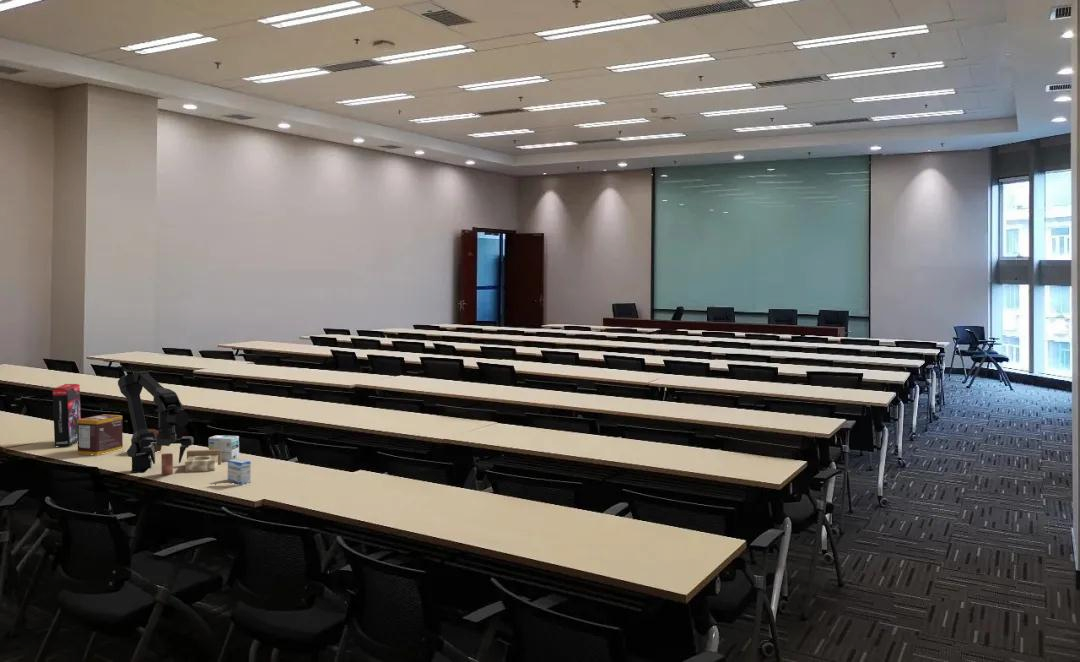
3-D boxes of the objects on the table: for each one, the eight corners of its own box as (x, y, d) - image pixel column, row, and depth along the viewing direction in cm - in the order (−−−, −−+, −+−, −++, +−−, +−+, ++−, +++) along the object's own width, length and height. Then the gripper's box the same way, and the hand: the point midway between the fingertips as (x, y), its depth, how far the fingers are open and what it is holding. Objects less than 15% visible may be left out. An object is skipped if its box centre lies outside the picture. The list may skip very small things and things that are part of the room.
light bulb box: (239, 460, 346) (239, 435, 345) (232, 463, 339) (232, 438, 339) (216, 459, 347) (215, 434, 346) (208, 462, 340) (207, 437, 340)
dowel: (160, 478, 312) (160, 455, 311) (162, 475, 316) (162, 453, 315) (171, 477, 313) (171, 455, 312) (173, 475, 317) (173, 453, 316)
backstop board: (179, 478, 312) (179, 460, 311) (187, 467, 331) (187, 450, 331) (214, 477, 315) (214, 459, 315) (221, 466, 334) (221, 449, 334)
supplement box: (123, 449, 364) (123, 415, 363) (96, 456, 349) (96, 420, 348) (104, 447, 366) (103, 413, 366) (77, 454, 352) (76, 419, 351)
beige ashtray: (185, 471, 319) (184, 461, 318) (189, 465, 329) (189, 455, 329) (214, 470, 322) (214, 460, 321) (218, 464, 332) (218, 455, 332)
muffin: (134, 450, 361) (134, 428, 361) (161, 448, 367) (161, 426, 367) (138, 455, 351) (137, 433, 351) (165, 453, 357) (165, 430, 357)
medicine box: (227, 482, 307) (227, 460, 306) (236, 480, 311) (236, 458, 310) (241, 485, 303) (241, 462, 303) (251, 483, 307) (251, 460, 307)
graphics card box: (69, 447, 366) (68, 388, 364) (52, 447, 364) (51, 388, 362) (81, 440, 382) (81, 383, 381) (65, 440, 381) (64, 383, 379)
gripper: (135, 428, 303) (136, 468, 304) (189, 426, 308) (189, 467, 309) (142, 423, 314) (142, 462, 315) (193, 422, 319) (193, 460, 319)
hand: (166, 463), depth 314 cm, fingers open, 9 cm apart
